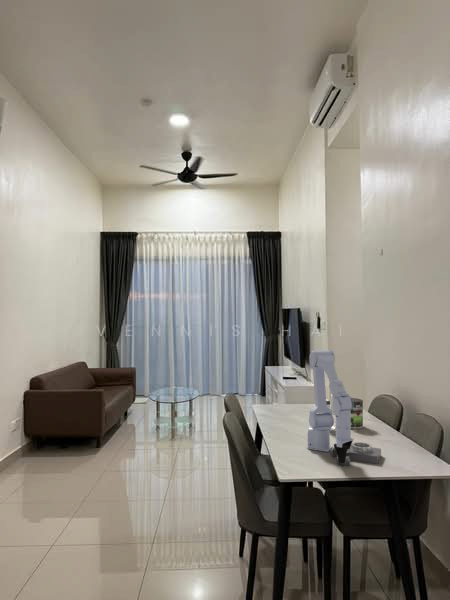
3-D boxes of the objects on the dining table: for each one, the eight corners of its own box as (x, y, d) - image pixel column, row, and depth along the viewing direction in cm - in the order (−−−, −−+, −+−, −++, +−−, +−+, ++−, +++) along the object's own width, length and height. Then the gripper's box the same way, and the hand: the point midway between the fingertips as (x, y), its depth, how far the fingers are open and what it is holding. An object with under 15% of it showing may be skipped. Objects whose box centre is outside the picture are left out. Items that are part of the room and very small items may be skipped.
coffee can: (367, 427, 223) (366, 401, 223) (349, 429, 220) (349, 402, 221) (356, 423, 233) (355, 397, 233) (339, 424, 230) (339, 398, 231)
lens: (335, 464, 169) (335, 449, 169) (338, 461, 173) (338, 446, 173) (348, 467, 166) (348, 451, 167) (351, 463, 171) (351, 448, 171)
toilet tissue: (348, 410, 264) (348, 394, 264) (348, 414, 252) (348, 397, 253) (331, 408, 267) (331, 393, 267) (330, 413, 256) (329, 396, 256)
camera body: (332, 456, 178) (332, 444, 179) (338, 449, 188) (338, 437, 188) (377, 464, 170) (377, 451, 170) (381, 455, 180) (381, 443, 180)
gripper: (349, 432, 162) (349, 467, 162) (356, 423, 175) (357, 456, 174) (331, 429, 165) (331, 464, 165) (339, 421, 178) (339, 453, 178)
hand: (343, 460), depth 170 cm, fingers closed on lens, 5 cm apart
